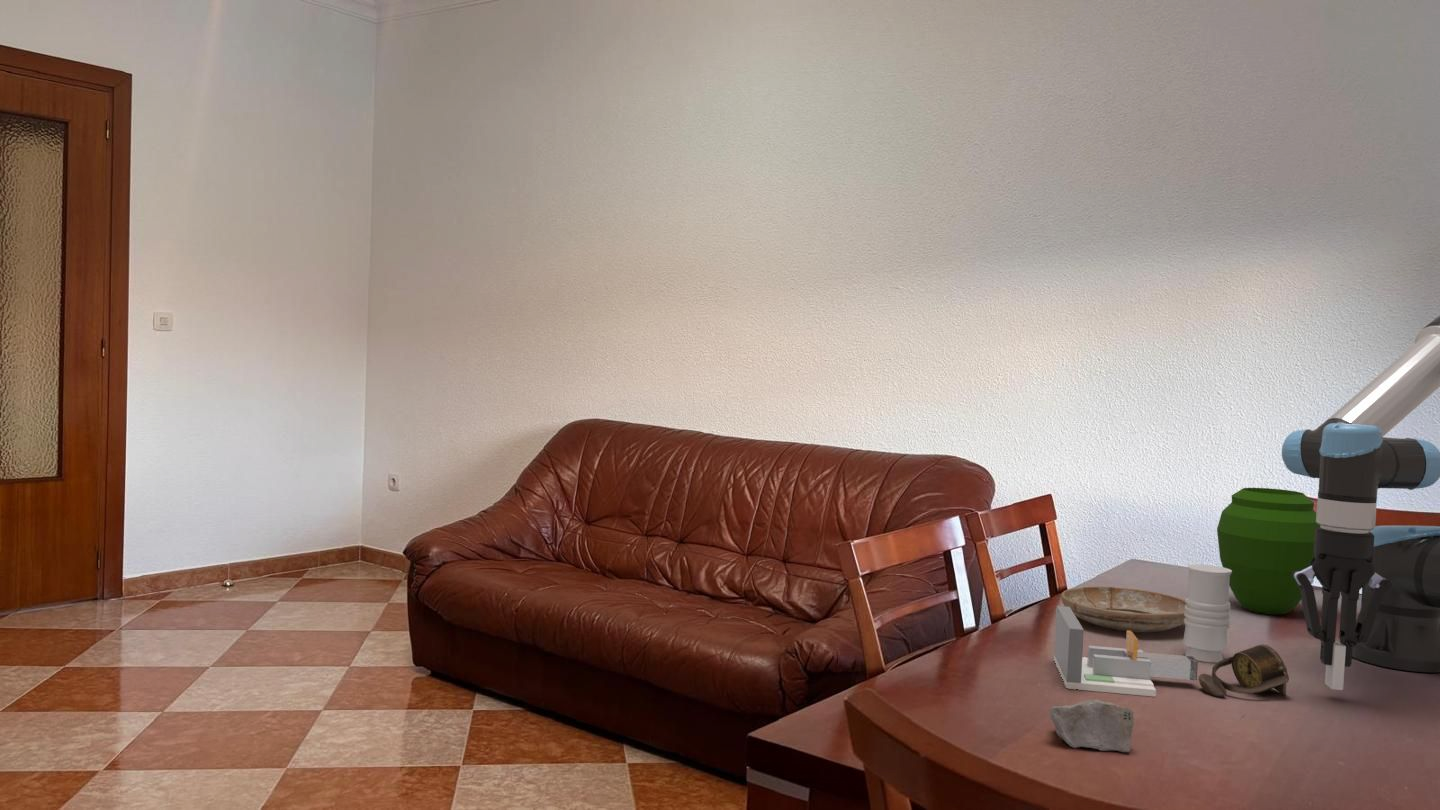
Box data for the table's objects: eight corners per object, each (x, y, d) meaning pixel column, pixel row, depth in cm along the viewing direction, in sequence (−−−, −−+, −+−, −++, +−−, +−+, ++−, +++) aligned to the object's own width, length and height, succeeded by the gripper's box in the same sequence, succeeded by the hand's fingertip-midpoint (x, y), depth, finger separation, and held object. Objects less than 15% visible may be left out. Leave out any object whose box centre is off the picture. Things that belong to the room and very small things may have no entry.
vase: (1323, 609, 216) (1330, 491, 215) (1317, 628, 199) (1325, 500, 198) (1219, 595, 226) (1225, 482, 225) (1205, 611, 210) (1213, 490, 209)
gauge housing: (1135, 667, 168) (1138, 612, 167) (1155, 696, 153) (1159, 635, 153) (1053, 660, 170) (1056, 605, 170) (1066, 688, 155) (1069, 628, 155)
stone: (1052, 726, 139) (1055, 682, 139) (1132, 740, 135) (1135, 695, 135) (1046, 745, 132) (1049, 699, 131) (1131, 761, 128) (1134, 714, 127)
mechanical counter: (1307, 670, 151) (1281, 638, 160) (1216, 656, 152) (1194, 625, 162) (1295, 714, 153) (1269, 680, 162) (1204, 700, 154) (1184, 666, 163)
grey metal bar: (1191, 674, 160) (1194, 635, 160) (1201, 685, 155) (1204, 645, 154) (1122, 668, 162) (1125, 629, 162) (1130, 679, 157) (1132, 639, 156)
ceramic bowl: (1162, 612, 208) (1164, 587, 208) (1215, 644, 185) (1216, 616, 185) (1045, 607, 209) (1046, 582, 209) (1082, 638, 185) (1084, 610, 185)
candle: (1234, 664, 172) (1240, 573, 171) (1191, 662, 172) (1196, 571, 172) (1217, 652, 179) (1222, 565, 178) (1175, 650, 179) (1180, 563, 178)
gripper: (1382, 528, 157) (1371, 683, 158) (1287, 521, 159) (1277, 675, 160) (1405, 535, 149) (1393, 699, 150) (1306, 529, 152) (1295, 690, 153)
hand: (1333, 686), depth 155 cm, fingers closed
